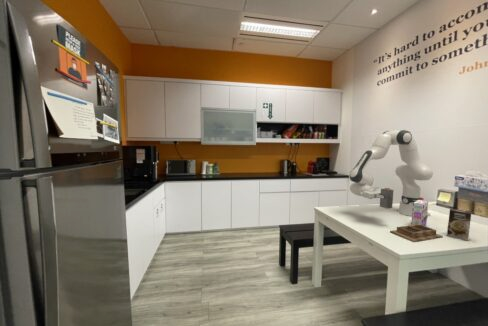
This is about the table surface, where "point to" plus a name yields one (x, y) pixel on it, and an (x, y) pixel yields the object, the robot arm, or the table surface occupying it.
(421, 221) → the candy box
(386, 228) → the table surface
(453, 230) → the coffee box
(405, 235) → the walnut cell rack
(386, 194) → the battery cell
